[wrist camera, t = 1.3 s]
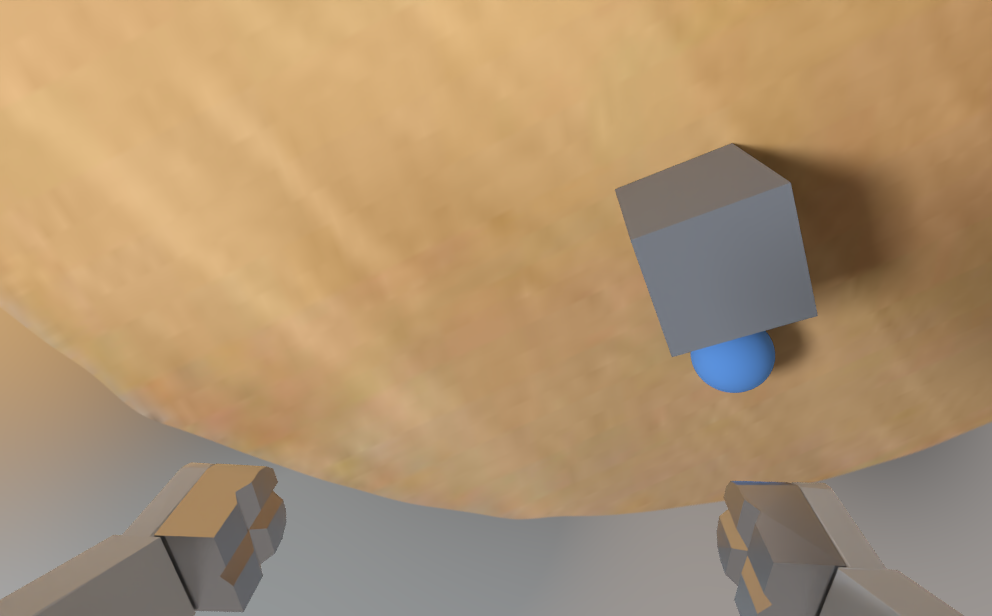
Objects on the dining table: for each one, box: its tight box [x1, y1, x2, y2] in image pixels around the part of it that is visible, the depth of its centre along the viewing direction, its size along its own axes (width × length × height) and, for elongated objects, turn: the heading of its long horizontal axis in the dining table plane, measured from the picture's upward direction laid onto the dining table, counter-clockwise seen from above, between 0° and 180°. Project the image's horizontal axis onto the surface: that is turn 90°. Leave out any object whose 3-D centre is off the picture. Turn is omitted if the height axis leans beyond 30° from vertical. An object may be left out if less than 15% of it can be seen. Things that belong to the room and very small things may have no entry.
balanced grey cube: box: [615, 143, 818, 357], centre depth 28 cm, size 7×7×9 cm
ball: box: [691, 331, 775, 393], centre depth 33 cm, size 5×5×5 cm
